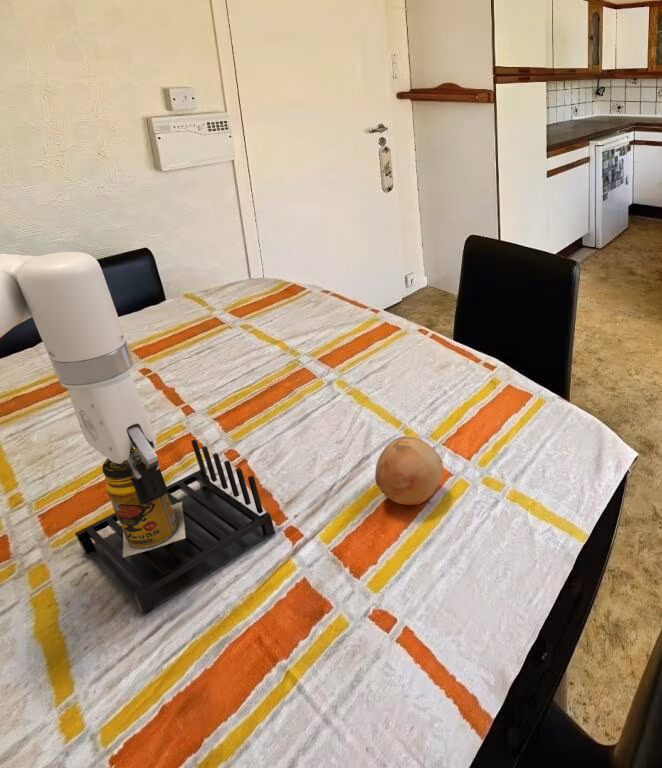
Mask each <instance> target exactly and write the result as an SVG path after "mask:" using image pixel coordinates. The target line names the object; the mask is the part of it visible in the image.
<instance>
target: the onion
mask: <svg viewBox="0 0 662 768" xmlns="http://www.w3.org/2000/svg"><path fill="white" fill-rule="evenodd" d="M443 470H444V464H443V460H442V456H441V455H440V454H439V452H437V451H436V449H434V448H433V447H432V445H430V444H429V443H428V442H427V441H424V440H422V439H420V438H418V437H413V436H400V437H397V438H395V439H392V441H390V442H389V443H388V444H387V445H386V446H385V447H384V449H383V450H382V451H381V452H380V455H379V457H378V460H377V462H376V465H375V476H374V480H375V484H376V486H377V488H378V489H379V491H381V493H382V494H383V495H384V496H386V498H387V499H389V500H391V501H392V502H394V503H396V504H400V505H406V506H415V505H416V506H417V505H420V504H422V503H424V502H426V501H427V500H428V499H429V498H430V497H431V496H433V495H434V493H435V491H436V490H437V488H438V487H439V484H440V483H441V481H442V477H443Z"/></svg>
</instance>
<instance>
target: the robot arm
mask: <svg viewBox="0 0 662 768" xmlns="http://www.w3.org/2000/svg"><path fill="white" fill-rule="evenodd" d="M31 318H32V319H33V322H34V324H35V327H36V329H37V331H38V334H39V337H40V339H41V341H42V343H43V346H44V348H45V351H46V353H47V355H48V358H49V360H50V363H51V365H52V367H53V370H54V372H55V375H56V377H57V379H58V382H59V385H60V386H61V387H63V388H65V389H67V391H68V395H69V398H70V401H71V404H72V408H73V410H74V413H75V415H76V419H77V421H78V424H79V427H80V429H81V432H82V435H83V437H84V439H85V441H86V442H87V443H88V444H89V445H90V446H91V447H92V448H93V449H95V450H96V451H97V452H98V453H100V454H101V455H102V456H104V457H105V458H106V460H107V459H109V460H110V461H112V462H114V463H117V464H121V463H123V461H126V463H127V465H128V467H129V469H130V471H131V473H132V474H133V476H134V477H133V478H131V480H132V483H133V485H134V488H135V491H136V493H137V496H138V498H139V501H140V503H141V504H143V505H146V504H148V503H150V502H152V501H154V500H156V499H158V498H160V497H161V496H163V495H165V494H167V492H168V490H167V484H166V481H165V479H164V475H163V473H162V470H161V467H160V464H159V461H160V458H159V457H158V455H157V453H156V451H155V448H156V446H157V442H158V441H157V438H156V434H155V431H154V428H153V425H152V422H151V420H150V418H149V415H148V411H147V410H146V407H145V405H144V402H143V400H142V396H140V395H141V394H140V392H139V390H138V388H137V386H136V384H135V382H134V380H133V378H132V375H131V373H132V372H133V371H134V370H135V368H136V364H135V361H134V358H133V355H132V354H131V353H132V352H131V350H130V347H129V344H128V341H127V339H126V336H125V333H124V330H123V327H122V323H121V321H120V318H119V315H118V312H117V309H116V306H115V304H114V300H113V297H112V295H111V292H110V289H109V286H108V284H107V280H106V278H105V275H104V272H103V270H102V267H101V265H100V263H99V261H98V260H97V259H96V258H95V257H94V256H92V255H91V254H89V253H86V252H82V251H61V252H53V253H47V254H42V255H26V254H14V253H13V254H11V253H0V339H1V338H2V337H3V336H4V335H5V334H7V333H8V332H9V331H11V330H12V329H13V328H14V327H16V326H18V325H20V324H22V323H23V322H25V321H27V320H29V319H31ZM135 449H136V450H137V451H135V452H133V453H130V450H135ZM139 456H141V459H142V460H141V461H142V462H141V463H139V464H138V467H137V466H136V464H135V462H134V460H133V459H134V458H136V457H139ZM106 460H105V461H106Z"/></svg>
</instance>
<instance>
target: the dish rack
mask: <svg viewBox="0 0 662 768" xmlns="http://www.w3.org/2000/svg"><path fill="white" fill-rule="evenodd" d="M190 443H191V445H192V448H193V451H194V455H195V457H196V458H195V459H196V461H197V464H198V468H199V470H197V471H194V472H193V473H191V474H189V475H187V476H185V477H183V478H181V479H179V480H177V481H175V482H173V483H171V484H169V485H166V487H167V490H168V492H167V495H168V498H169V501H170V504H171V505H175V504H176V503H180V502H182V508H183V517H184V525H185V536H186V538H185V539H181V540H178V541H175V542H172V543H169V544H167V545H164V546H160V547H157V548H154V549H151V550H148V551H145V552H141V553H137V554H134V555H130V556H127V557H123V530H122V527H121V524H120V523H118V522H119V520H118V518H117V516H116V512H115V511H114V512H113V513H112V514H110V515H108V516H105V517H104V518H102V519H100V520H98V521H95V522H94V523H92V524H90V525H88V526H86V527H84V528H82V529H80V530H78V531H76V532H75V533H74V535H75V537H76V539H77V541H78V543H79V545H80V548H81V550H82V552H83V553H84V554H85V555H86V556H87V558H89V559H90V560H91V561H92V563H94V564H95V565H96V566H97V568H99V569H100V570H101V572H102V573H104V575H105V576H106V577H107V578H108V579H109V580H110V581H111V582H112V583H113V584H114V585H116V586H115V587H117V588H118V589H119V590H120V591H121V592H122V593H123V594H124V596H126V597H127V598H128V599H129V600H130V602H132V603H133V604H134V605H135V607H137V609H138V610H139V611H141V613H142V614H143V615H144V616H146V615H148V614H149V613H151V612H152V611H154V610H156V609H157V608H158V607H160V606H162V605H163V604H165V603H166V602H169V601H170V600H171V599H173V598H174V597H176V596H177V595H179V594H181V593H182V592H184V591H185V590H186V589H187V590H188V588H191V586H192V587H193V585H195V584H197V583H198V582H200V581H201V580H203V579H204V578H206V577H207V576H209V575H211V574H213V573H214V572H216V571H217V570H218V569H220V568H221V567H224V566H225V565H226V564H228V563H230V562H231V561H233V560H234V559H236V558H238V557H239V556H240V555H242V554H244V553H246V552H247V551H248V550H250V549H252V548H254V547H255V546H257V545H258V544H260V543H261V542H263V541H265V540H267V539H268V538H269V537H271V536H272V535H274V534H276V531H275V526H274V522H273V520H272V516H271V513H269V511H266V512H264V508H263V505H262V501H261V498H260V494H259V491H258V487H257V483H256V478H255V476H253V475H249V476H248V477H247V480H248V484H249V488H250V491H251V495H252V498H253V502H254V506H255V509H256V512H257V513H256V512H255V511H254V510H252V509H251V508H249V507H248V506H249V505H251V504H252V501H251V498H250V495H249V491H248V486H247V484H246V480H245V477H244V473H243V469H242V468H241V467H237V468H235V473H236V476H237V480H238V484H239V486H240V491H241V493H242V497H243V500H244V501H243V502H244V503H242V502H240V501H239V500H238V499H237V497H239V496H240V493H239V489H238V486H237V481H236V478H235V475H234V472H233V469H232V464H231V462H230V460H229V459H227V460H224V461H223V464H224V467H225V468H224V469H225V471H226V473H227V477H228V481H229V485H230V488H231V491H232V494H233V496H232V495H230V494H229V493H227V492H226V491H225V490H227V489H228V488H229V485H228V482H227V479H226V475H225V473H224V469H223V466H222V462H221V458H220V456H219V454H218V453H217V452H214V453H213V454H212V457H211V455H210V451H209V449H208V446H207V445H204V446H201V449H200V447H199V444H198V441H197V439H192V440H190ZM201 451H202V453H201ZM202 454H203V456H202ZM203 457H204V459H203ZM212 458H213V462H214V464H215V467H216V471H215V468H214V465H213V462H212ZM204 461H205V463H206V465H205V463H204ZM206 466H207V468H206ZM207 470H208V472H207ZM216 472H217V474H216ZM207 473H209V475H208V474H207ZM217 475H218V477H219V481H220V485H221V487H222V488H220V487H219V486H217V485H216V484H214V483H215V482H217V481H218V477H217ZM210 479H211V480H210ZM211 481H212V482H211ZM195 482H196V483H198V484H199V488H197V489H193V488H192V487H191V486H189V485H191V484H193V483H195ZM179 490H180V491H182V492H183V493H184V494H185V495H184V496H182V497H180V498H179V499H178V498H177V497H175V496H174V495H173V494H174V493H175V492H177V491H179ZM234 497H235V498H234ZM263 512H264V513H263ZM260 514H261V515H260ZM107 527H109V528H110V529H111V530H112V531H114V532H113V533H112V534H110V535H108V536H106V537H103V536H102V535H100V533H98V532H100V531H102V530H104V529H105V528H107Z"/></svg>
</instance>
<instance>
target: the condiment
mask: <svg viewBox="0 0 662 768" xmlns="http://www.w3.org/2000/svg"><path fill="white" fill-rule="evenodd" d="M135 451H137V450H136V449H135V448H134V450H130V453H133V452H135ZM106 459H107V458H106ZM133 460H134V462H135V464H136V466H137V467H138V464H139V463H141V462H142V461H141V460H142V459H141V456H139V457H136V458H134V459H133ZM102 473H103V475H104V480H105V482H106V484H105V491H106V493H107V496H108V497H109V500H110V502H111V505H112V508H113V511H114V513H115V512H116V516H117V518H118V520H119V521H118V522H119V525H120V526H121V527H122V530H123V557H127V556H130V555H134V554H137V553H141V552H145V551H148V550H151V549H154V548H157V547H160V546H164V545H167V544H169V543H172V542H175V541H178V540H181V539H185V538H186V536H185V525H184V517H183V508H182V502H180V503H176V504H175V505H171V504H170V501H169V498H168V495H167V494H165V495H163V496H161V497H160V498H158V499H156V500H154V501H152V502H150V503H148V504H146V505H143V504H141V503H140V501H139V498H138V496H137V493H136V491H135V488H134V485H133V483H132V480H131V478H133V477H134V476H133V474H132V473H131V471H130V469H129V467H128V465H127V463H126V461H123V463H121V464H117V463H114V462H112V461H110V460H109V459H107V460H105V461H104V462H103V464H102Z"/></svg>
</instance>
